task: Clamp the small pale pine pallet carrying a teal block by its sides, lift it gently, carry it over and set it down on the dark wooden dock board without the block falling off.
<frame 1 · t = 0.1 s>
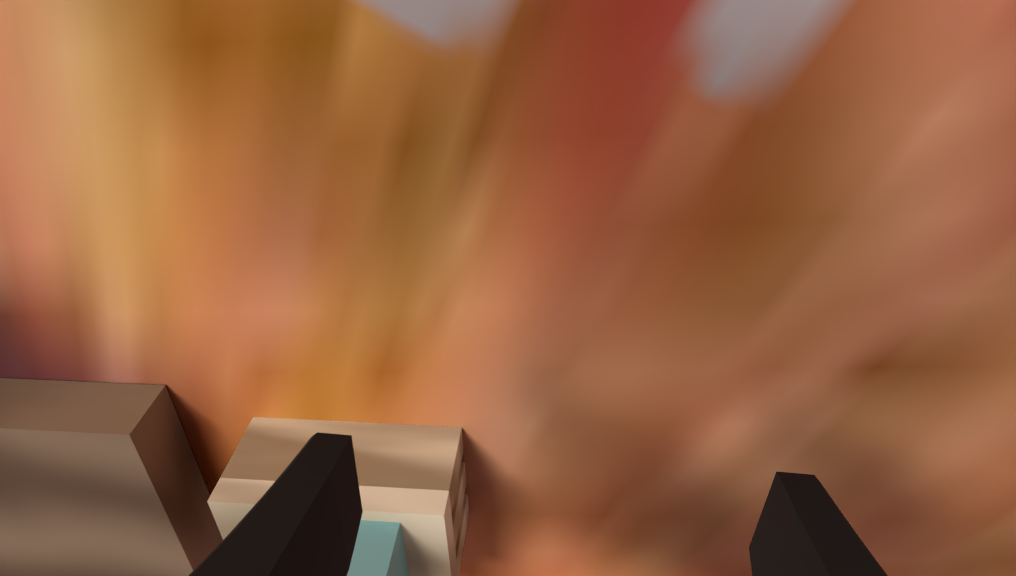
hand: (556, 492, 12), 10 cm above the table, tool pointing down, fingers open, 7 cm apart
teal block: (336, 554, 24), point 4 cm above the table, touching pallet
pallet: (365, 465, 28), on the table, touching teal block
dock: (86, 540, 32), on the table
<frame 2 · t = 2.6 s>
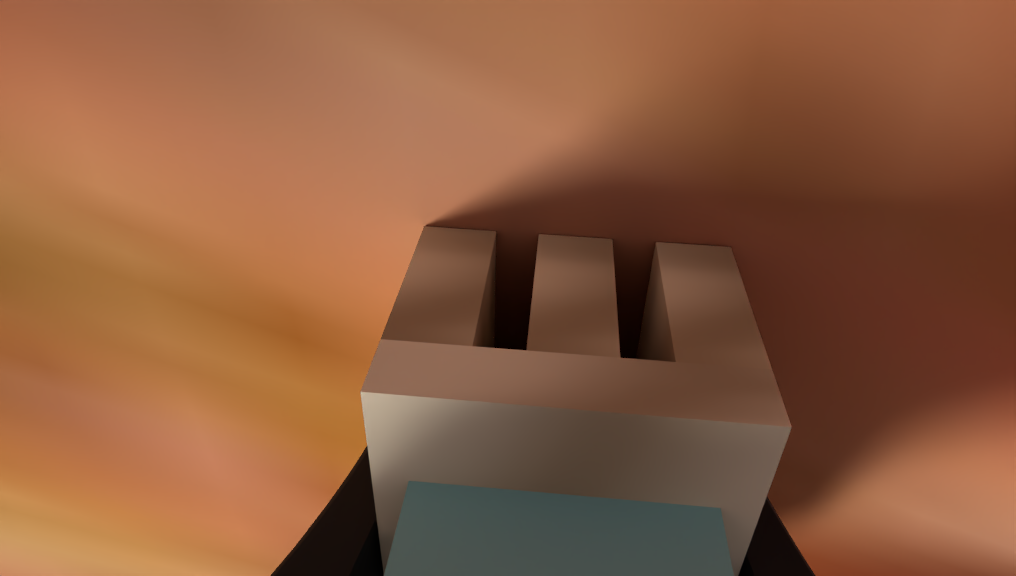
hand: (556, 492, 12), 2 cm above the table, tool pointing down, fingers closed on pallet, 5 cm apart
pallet: (559, 413, 14), on the table, touching teal block, gripper
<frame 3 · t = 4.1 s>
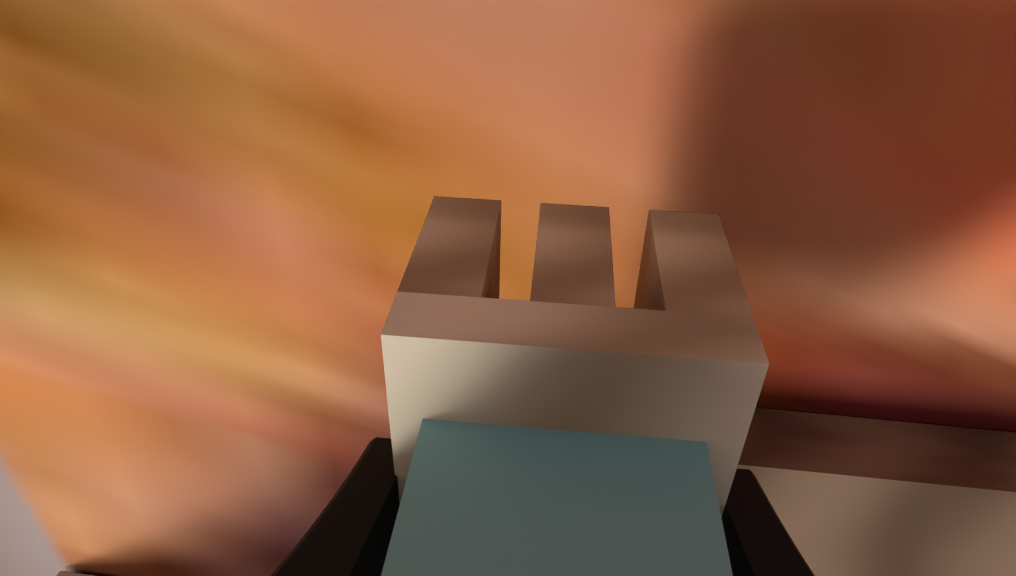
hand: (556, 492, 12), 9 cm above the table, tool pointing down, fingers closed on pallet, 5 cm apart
teal block: (552, 539, 11), point 10 cm above the table, touching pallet
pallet: (559, 375, 15), point 6 cm above the table, touching teal block, gripper
dock: (674, 538, 26), on the table
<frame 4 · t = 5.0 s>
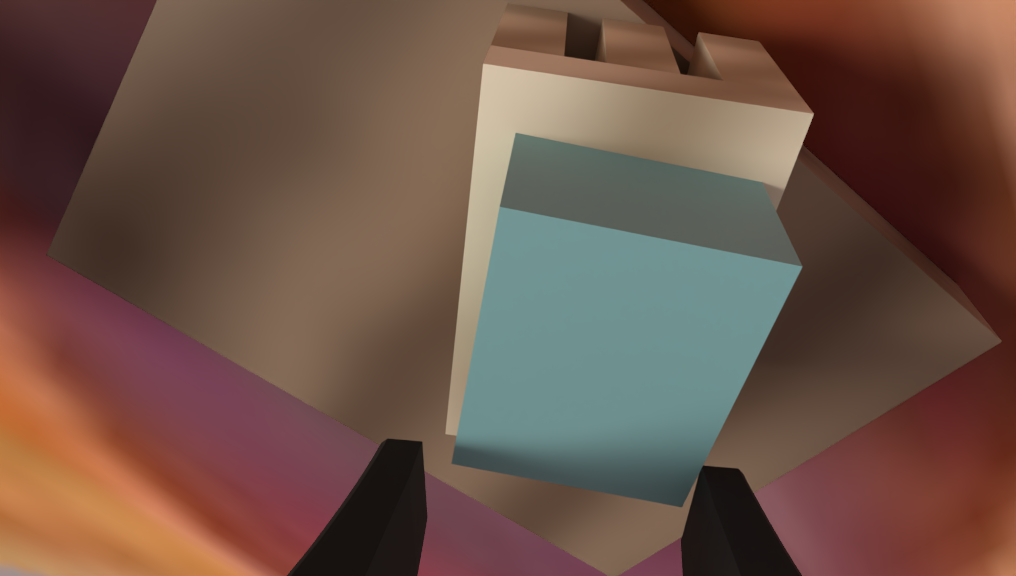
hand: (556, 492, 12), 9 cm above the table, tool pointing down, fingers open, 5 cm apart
teal block: (600, 284, 12), point 6 cm above the table, touching gripper, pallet
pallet: (593, 201, 16), point 2 cm above the table, touching teal block, dock
dock: (516, 246, 20), on the table
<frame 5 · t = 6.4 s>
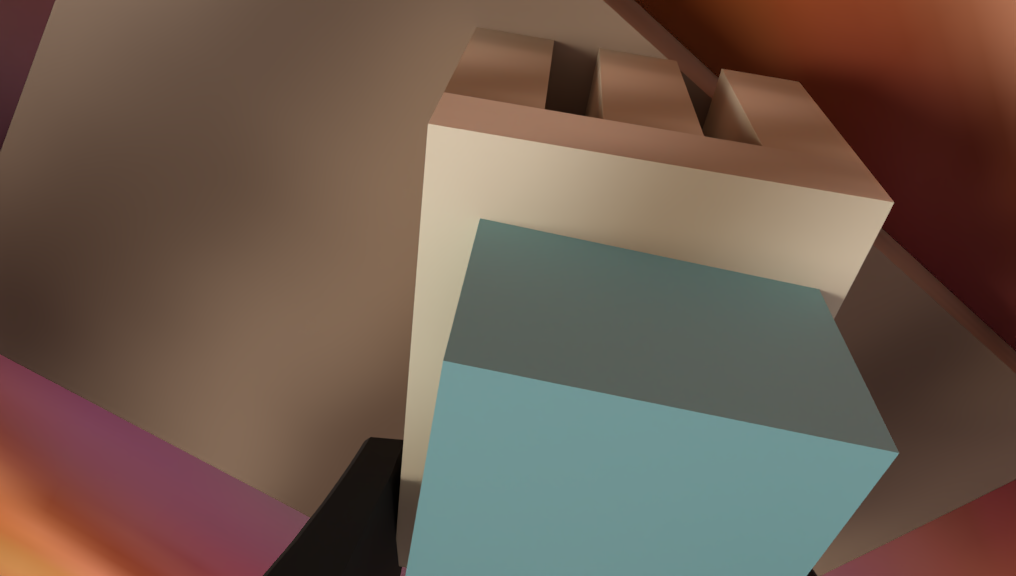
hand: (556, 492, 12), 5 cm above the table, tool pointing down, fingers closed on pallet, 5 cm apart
teal block: (595, 407, 9), point 7 cm above the table, touching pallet
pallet: (585, 270, 13), point 3 cm above the table, touching teal block, dock, gripper
dock: (505, 309, 17), on the table
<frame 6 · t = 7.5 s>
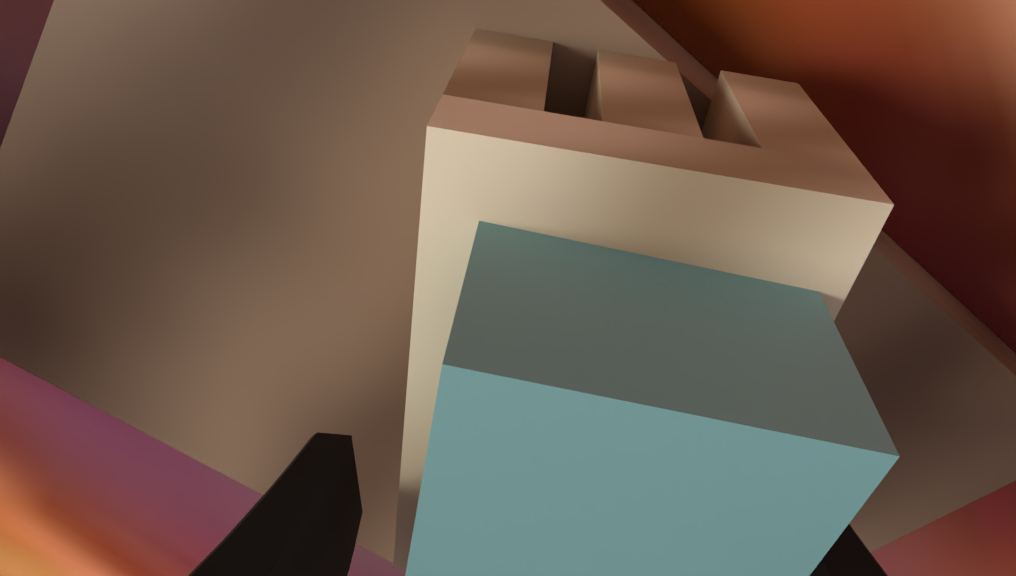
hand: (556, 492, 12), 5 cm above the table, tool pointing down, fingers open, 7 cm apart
teal block: (594, 409, 9), point 6 cm above the table, touching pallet
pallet: (584, 271, 13), point 2 cm above the table, touching teal block, dock
dock: (504, 311, 17), on the table
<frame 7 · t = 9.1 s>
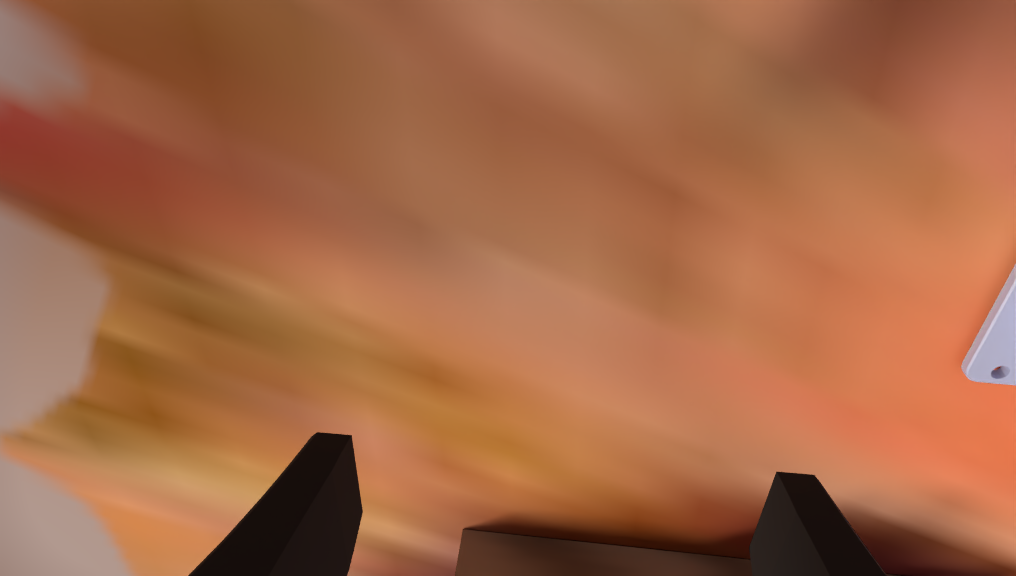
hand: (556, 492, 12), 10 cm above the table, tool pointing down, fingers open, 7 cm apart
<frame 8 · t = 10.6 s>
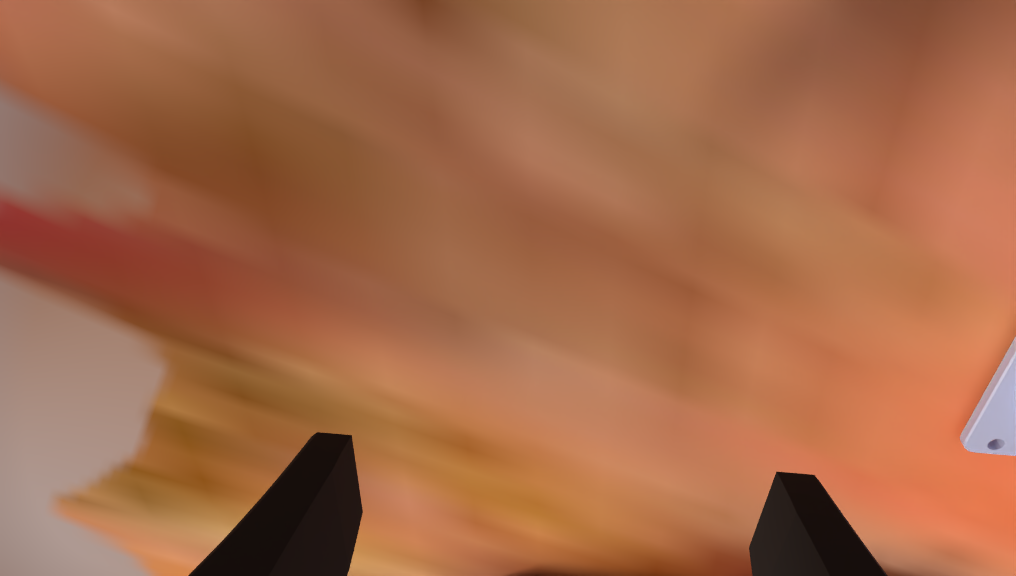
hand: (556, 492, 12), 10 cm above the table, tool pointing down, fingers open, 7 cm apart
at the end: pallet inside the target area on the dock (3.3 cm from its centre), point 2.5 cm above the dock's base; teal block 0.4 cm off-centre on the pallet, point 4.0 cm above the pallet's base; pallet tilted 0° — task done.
